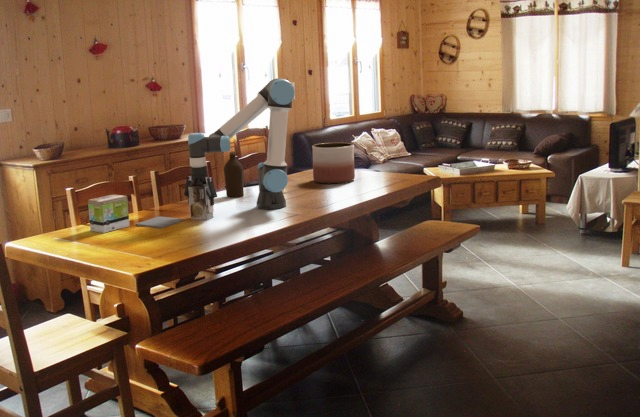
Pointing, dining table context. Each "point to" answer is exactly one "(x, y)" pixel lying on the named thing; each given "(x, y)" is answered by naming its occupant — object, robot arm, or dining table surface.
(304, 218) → the dining table surface
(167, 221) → the charcoal mat
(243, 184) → the remote control
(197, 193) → the coffee box
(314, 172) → the planter
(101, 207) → the tea box
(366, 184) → the dining table surface
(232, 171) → the olive oil
